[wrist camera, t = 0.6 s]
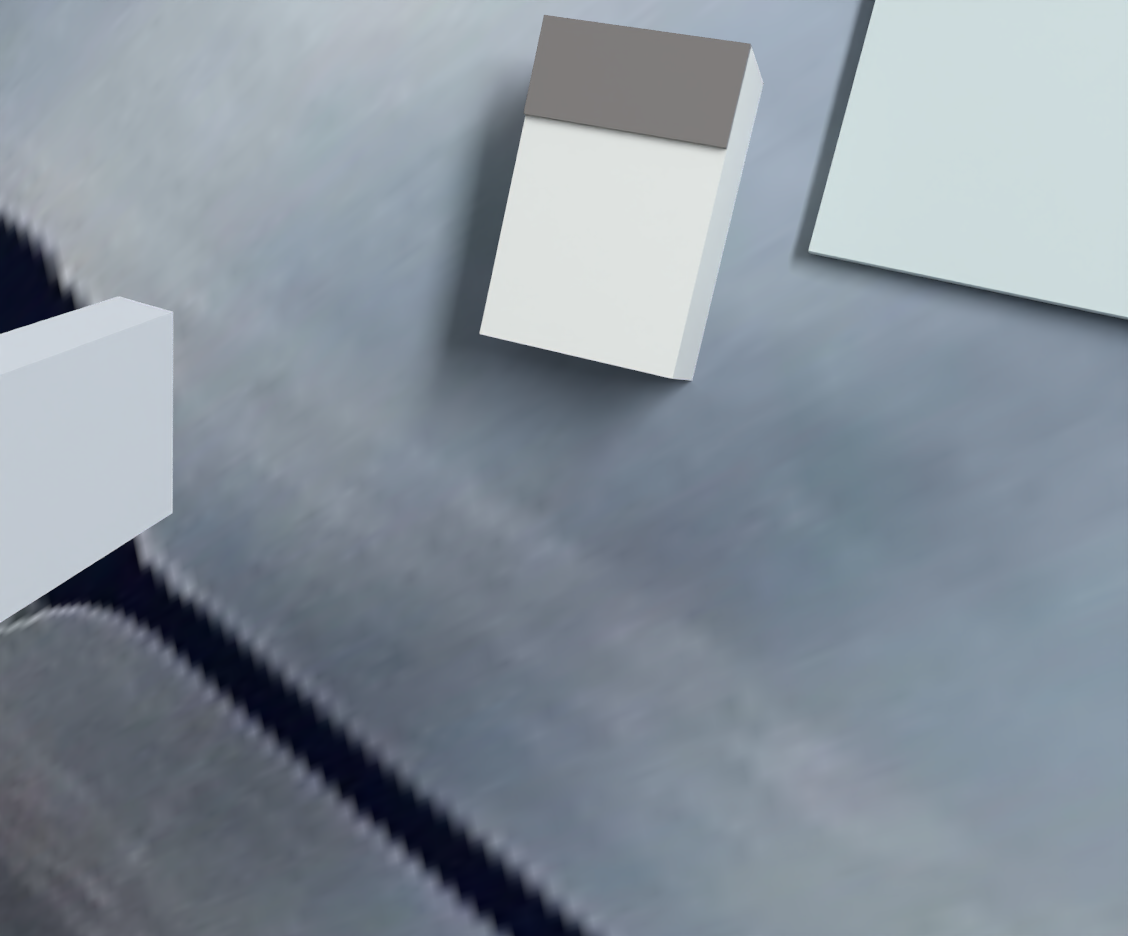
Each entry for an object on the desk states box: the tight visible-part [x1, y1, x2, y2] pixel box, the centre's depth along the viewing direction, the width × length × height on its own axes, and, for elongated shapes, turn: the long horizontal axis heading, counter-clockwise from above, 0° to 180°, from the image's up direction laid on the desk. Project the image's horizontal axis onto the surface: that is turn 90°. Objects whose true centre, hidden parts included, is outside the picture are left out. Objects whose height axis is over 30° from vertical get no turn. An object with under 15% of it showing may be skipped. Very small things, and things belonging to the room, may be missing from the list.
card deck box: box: [480, 15, 764, 381], centre depth 33 cm, size 10×6×4 cm, turn 167°
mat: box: [808, 0, 1128, 320], centre depth 30 cm, size 14×14×1 cm
